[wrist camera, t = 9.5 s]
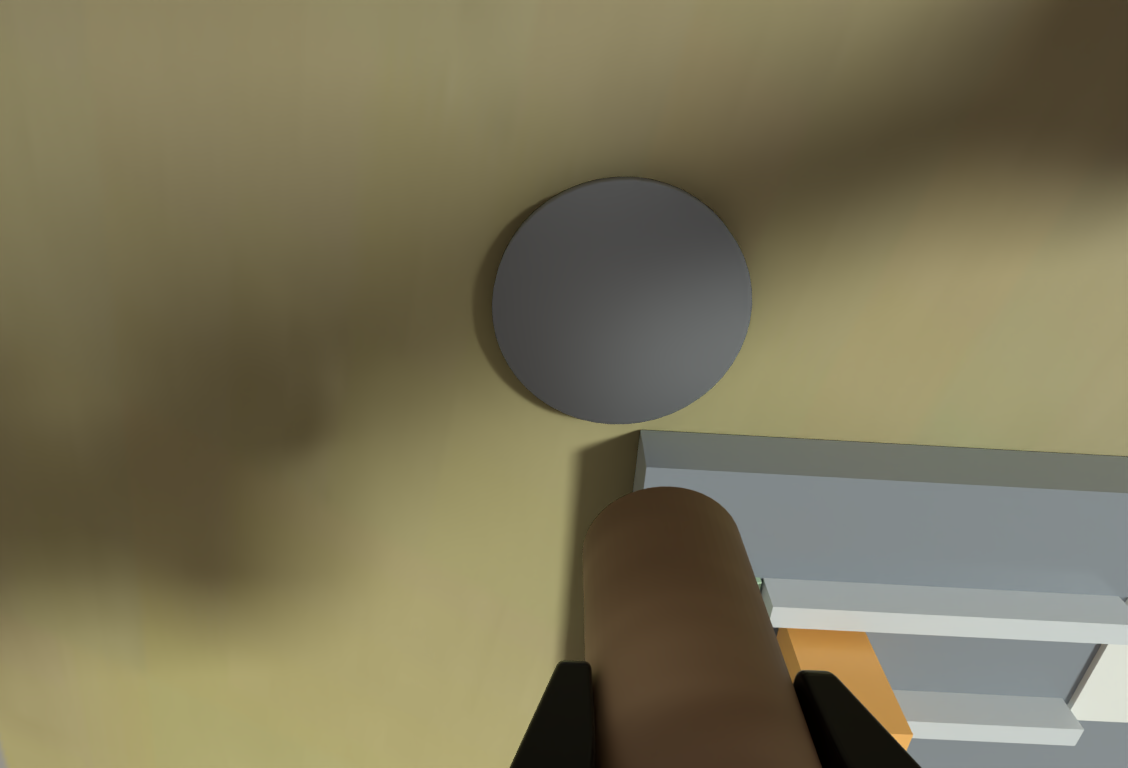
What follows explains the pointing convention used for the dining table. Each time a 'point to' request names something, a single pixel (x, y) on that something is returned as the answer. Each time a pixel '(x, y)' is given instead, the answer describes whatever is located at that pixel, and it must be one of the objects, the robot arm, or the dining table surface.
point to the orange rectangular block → (847, 671)
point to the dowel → (683, 642)
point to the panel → (942, 579)
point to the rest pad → (621, 300)
